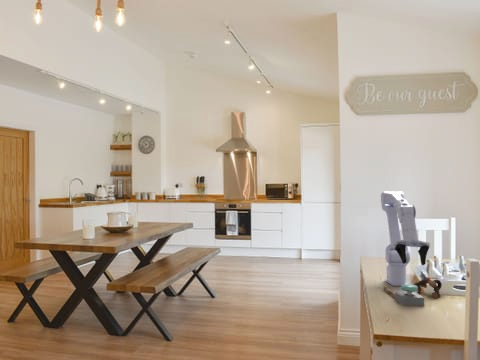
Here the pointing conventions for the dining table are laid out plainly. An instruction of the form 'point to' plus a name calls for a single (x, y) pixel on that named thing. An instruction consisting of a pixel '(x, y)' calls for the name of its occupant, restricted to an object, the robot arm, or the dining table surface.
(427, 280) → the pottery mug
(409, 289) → the dome button
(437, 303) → the dining table surface
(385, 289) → the rail
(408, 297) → the dome box
